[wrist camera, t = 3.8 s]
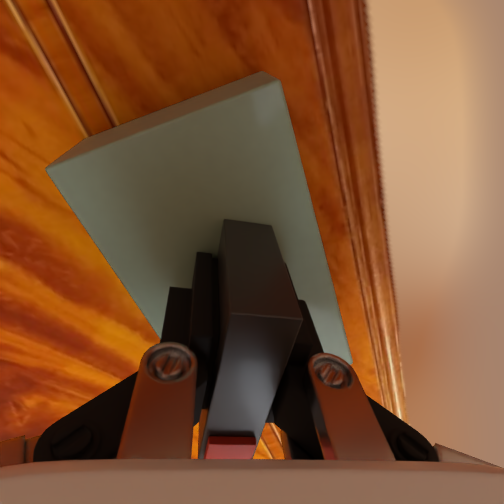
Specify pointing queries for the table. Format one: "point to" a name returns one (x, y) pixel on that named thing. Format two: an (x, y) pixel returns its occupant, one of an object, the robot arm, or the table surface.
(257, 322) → the knob
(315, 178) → the table surface
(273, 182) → the panel
